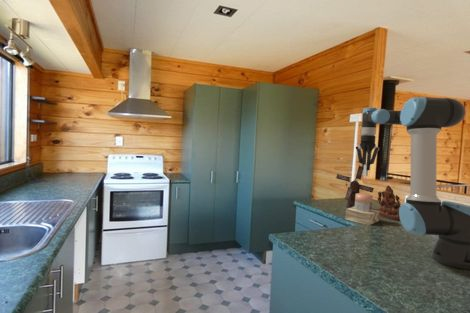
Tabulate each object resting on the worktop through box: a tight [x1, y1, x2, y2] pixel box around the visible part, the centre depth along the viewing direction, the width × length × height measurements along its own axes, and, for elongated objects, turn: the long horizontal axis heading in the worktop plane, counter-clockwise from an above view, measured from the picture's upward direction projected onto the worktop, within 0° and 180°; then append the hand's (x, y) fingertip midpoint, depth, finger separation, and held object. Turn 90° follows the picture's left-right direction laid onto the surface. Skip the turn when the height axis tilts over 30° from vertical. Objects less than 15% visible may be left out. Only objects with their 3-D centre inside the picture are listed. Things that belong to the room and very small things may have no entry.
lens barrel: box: [354, 201, 373, 212], centre depth 167 cm, size 8×8×5 cm
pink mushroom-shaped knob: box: [355, 192, 373, 204], centre depth 167 cm, size 9×9×9 cm
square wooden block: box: [344, 206, 381, 226], centre depth 168 cm, size 14×14×6 cm
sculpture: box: [377, 185, 402, 222], centre depth 176 cm, size 17×8×20 cm, turn 22°
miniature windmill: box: [335, 165, 375, 209], centre depth 195 cm, size 25×11×30 cm, turn 62°
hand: (365, 175), depth 166 cm, fingers closed
